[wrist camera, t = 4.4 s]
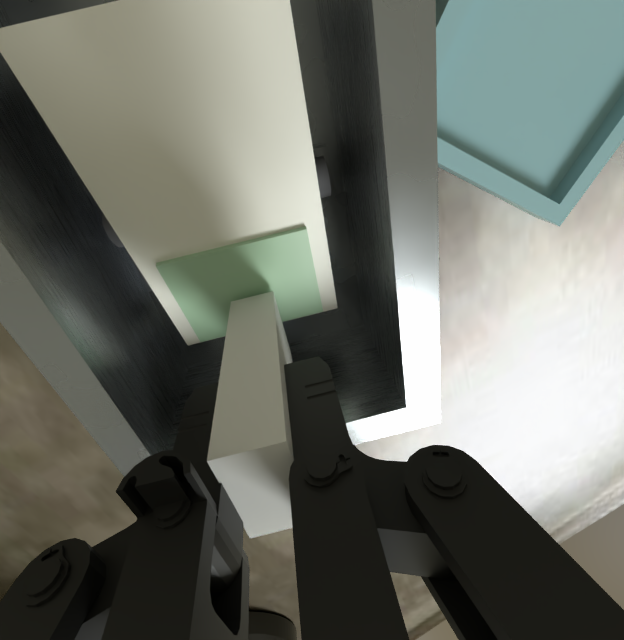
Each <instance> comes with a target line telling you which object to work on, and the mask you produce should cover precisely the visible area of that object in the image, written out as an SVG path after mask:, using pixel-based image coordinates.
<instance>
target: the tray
mask: <svg viewBox="0 0 624 640" xmlns="http://www.w3.org/2000/svg"><path fill="white" fill-rule="evenodd" d="M436 69H437V151H438V167H440V168H442V169H443V170H445V171H447V172H449V173H451V174H453V175H455V176H457V177H459V178H461V179H463V180H465V181H467V182H469V183H471V184H472V185H474V186H476V187H478V188H480V189H482V190H484V191H486V192H488V193H490V194H492V195H494V196H496V197H498V198H500V199H501V200H503V201H505V202H507V203H509V204H511V205H513V206H515V207H517V208H519V209H521V210H523V211H525V212H527V213H528V214H530V215H532V216H534V217H536V218H539V219H541V220H544V221H547V222H549V223H552V224H555V225H557V226H560V225H561V224H562V222H563V221H564V220H565V218H566V217H567V216H568V214H569V213H570V212H571V210H572V209H573V208H574V206H575V205H576V204H577V202H578V201H579V200H580V198H581V197H582V195H583V194H584V193H585V191H586V190H587V189H588V187H589V186H590V185H591V183H592V182H593V181H594V179H595V178H596V177H597V175H598V174H599V172H600V171H601V170H602V168H603V167H604V166H605V164H606V163H607V162H608V160H609V159H610V158H611V156H612V155H613V154H614V152H615V151H616V150H617V148H618V147H619V145H620V144H621V143H622V141H623V140H624V0H436Z"/></svg>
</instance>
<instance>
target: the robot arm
mask: <svg viewBox="0 0 624 640" xmlns="http://www.w3.org/2000/svg"><path fill="white" fill-rule="evenodd" d="M181 420H182V421H180V424H179V428H178V434H177V436H176V440H175V443H174V447H173V450H166V451H161V452H158V453H156V454H153V455H151V456H148V457H147V458H145V459H144V460H142V461H141V462H140V463H138V464H137V465H135V466H134V467H133V468H132V469H131V470H130V471H129V473H128V474H127V475H126V476H125V477H124V478H123V480H122V481H121V483H120V485H119V487H118V488H117V490H116V493H117V494H118V495H119V496H120V497H121V499H122V500H123V501H124V502H125V503H126V505H127V506H128V507H129V508H130V509H131V511H132V512H133V513H134V514H135V515H136V517H137V521H136V522H135V523H133V524H132V525H130V526H129V527H127V528H126V529H124V530H122V531H120V532H119V533H117V534H115V535H113V536H111V537H110V538H108V539H106V540H104V541H103V542H101V543H99V544H97V545H95V546H94V547H91V546H90V545H88V544H87V543H86V542H85V541H83V540H80V539H76V538H73V539H68V540H64V541H60V542H59V543H57V544H55V545H53V546H51V547H49V548H48V549H46V550H45V551H43V552H42V553H41V554H40V555H39V556H37V557H36V558H35V559H34V560H33V561H31V562H30V563H29V564H28V566H27V567H26V568H25V569H24V570H23V572H22V573H21V574H20V575H19V576H18V578H17V579H16V580H15V581H14V583H13V584H12V586H11V587H10V589H9V590H8V591H7V593H6V594H5V596H4V597H3V599H2V600H1V602H0V640H297V635H296V628H295V626H294V625H293V624H292V623H291V622H290V621H289V620H287V619H285V618H283V617H281V616H278V615H274V614H270V613H263V612H249V563H248V557H247V555H246V553H245V552H244V550H243V527H244V528H245V530H246V532H247V534H248V536H249V537H250V538H254V537H258V536H262V535H266V534H270V533H274V532H278V531H282V530H285V529H289V528H293V539H294V551H295V563H296V576H297V588H298V600H299V612H300V625H301V637H302V640H409V637H408V634H407V630H406V627H405V623H404V620H403V616H402V613H401V609H400V606H399V603H398V599H397V596H396V592H395V589H394V585H393V582H392V578H391V575H390V572H395V573H402V574H409V575H416V576H421V577H422V579H423V581H424V582H425V584H426V586H427V587H428V589H429V591H430V592H431V594H432V596H433V597H434V599H435V601H436V602H437V604H438V606H439V608H440V609H441V611H442V613H443V614H444V616H445V618H446V619H447V621H448V623H449V624H450V626H451V628H452V629H453V631H454V632H455V634H456V636H457V638H458V639H459V640H624V610H623V609H622V608H621V607H620V606H619V605H618V604H617V603H616V602H615V601H614V600H613V599H612V598H611V597H610V596H609V595H608V594H607V593H606V592H605V591H604V590H603V589H602V588H601V587H600V586H599V585H598V584H597V583H596V582H595V581H594V580H593V579H592V578H591V577H590V576H589V575H588V574H587V573H586V571H585V570H584V569H583V568H582V567H581V566H580V565H579V564H578V563H577V562H576V561H574V559H573V558H572V557H571V556H570V555H569V554H568V553H567V552H566V551H565V550H564V549H563V548H562V547H561V546H560V545H559V544H558V543H557V542H556V541H555V540H554V539H553V538H552V537H551V536H550V535H549V534H548V533H547V532H546V531H545V530H544V529H543V528H542V527H541V526H540V525H539V524H538V523H537V522H536V521H535V520H534V519H533V518H532V517H531V516H530V515H529V514H528V513H527V512H526V511H525V510H524V509H523V508H522V507H521V506H520V505H519V504H518V503H517V502H516V501H515V500H514V499H513V498H512V497H511V496H510V495H509V494H508V492H507V491H506V490H505V489H504V488H503V487H502V486H501V485H500V484H499V483H498V482H497V481H496V480H495V479H494V478H493V477H492V476H491V475H490V474H489V473H488V472H487V471H486V470H485V469H484V468H483V467H482V466H481V465H480V464H479V463H478V462H477V461H476V460H475V459H473V458H472V457H470V456H469V455H468V454H466V453H465V452H464V451H462V450H459V449H456V448H453V447H450V446H443V445H432V446H428V447H425V448H421V449H419V450H418V451H417V452H415V453H414V454H413V455H412V456H410V457H409V459H408V461H407V462H400V461H385V460H379V459H374V458H372V457H369V456H367V455H365V454H364V453H362V452H361V451H359V450H358V449H357V448H356V447H355V445H354V444H353V443H352V441H351V439H350V436H349V433H348V430H347V426H346V423H345V420H344V416H343V413H342V409H341V406H340V402H339V399H338V395H337V392H336V388H335V385H334V381H333V378H332V374H331V371H330V368H329V365H328V364H327V363H326V362H324V361H323V360H322V359H321V358H320V357H319V356H317V357H313V358H309V359H305V360H301V361H297V362H293V361H292V354H291V350H290V347H289V344H288V340H287V337H286V333H285V330H284V327H283V323H282V320H281V316H280V313H279V310H278V306H277V303H276V299H275V296H274V293H273V291H272V292H268V293H264V294H260V295H256V296H252V297H247V298H243V299H239V300H235V301H231V304H230V311H229V317H228V324H227V330H226V337H225V344H224V350H223V357H222V364H221V370H220V377H219V382H218V383H214V384H210V385H206V386H202V387H198V388H195V390H194V391H193V392H192V394H191V395H190V397H189V398H188V399H187V401H186V402H185V405H184V409H183V412H182V416H181Z"/></svg>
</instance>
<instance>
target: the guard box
mask: <svg viewBox="0 0 624 640" xmlns="http://www.w3.org/2000/svg"><path fill="white" fill-rule="evenodd" d="M113 1H118V0H0V28H2V27H7V26H11V25H15V24H20V23H24V22H28V21H32V20H37V19H41V18H45V17H49V16H54V15H58V14H62V13H66V12H71V11H75V10H79V9H83V8H88V7H92V6H96V5H101V4H105V3H109V2H113ZM290 5H291V12H292V18H293V24H294V31H295V37H296V44H297V50H298V57H299V63H300V69H301V76H302V82H303V89H304V95H305V101H306V108H307V114H308V121H309V127H310V134H311V140H312V146H313V153H314V158H315V157H319V156H323V157H324V159H325V161H326V165H327V168H328V173H329V178H330V185H331V196H328V197H324V198H321V204H322V211H323V217H324V223H325V230H326V236H327V243H328V249H329V256H330V262H331V268H332V275H333V281H334V288H335V294H336V300H337V307H338V308H336V309H332V310H328V311H324V312H320V313H316V314H312V315H308V316H304V317H300V318H296V319H292V320H288V321H284V322H282V323H283V327H284V330H285V333H286V337H287V340H288V344H289V347H290V350H291V354H292V361H293V362H297V361H301V360H305V359H309V358H313V357H317V356H319V357H320V358H321V359H322V360H323V361H324V362H326V363H327V364H328V365H329V368H330V371H331V374H332V378H333V381H334V385H335V388H336V392H337V395H338V399H339V402H340V406H341V409H342V413H343V416H344V420H345V423H346V426H347V430H348V433H349V436H350V439H351V441H352V443H353V444H354V445H356V444H360V443H364V442H368V441H372V440H375V439H379V438H383V437H387V436H391V435H395V434H399V433H403V432H407V431H411V430H414V429H418V428H422V427H426V426H430V425H434V424H438V423H441V398H440V316H439V233H438V151H437V69H436V0H290ZM0 322H1V324H2V325H3V326H4V327H5V329H6V330H7V331H8V332H9V334H10V335H11V336H12V337H13V339H14V340H15V341H16V342H17V344H18V345H19V346H20V347H21V349H22V350H23V351H24V352H25V354H26V355H27V356H28V357H29V359H30V360H31V361H32V362H33V364H34V365H35V366H36V367H37V368H38V370H39V371H40V372H41V373H42V375H43V376H44V377H45V378H46V380H47V381H48V382H49V383H50V385H51V386H52V387H53V388H54V390H55V391H56V392H57V393H58V395H59V396H60V397H61V398H62V400H63V401H64V402H65V403H66V405H67V406H68V407H69V408H70V410H71V411H72V412H73V413H74V415H75V416H76V417H77V418H78V420H79V421H80V422H81V423H82V425H83V426H84V427H85V428H86V430H87V431H88V432H89V433H90V435H91V436H92V437H93V438H94V440H95V441H96V442H97V443H98V445H99V446H100V447H101V448H102V450H103V451H104V452H105V453H106V455H107V456H108V457H109V458H110V459H111V461H112V462H113V463H114V464H115V466H116V467H117V468H118V469H119V471H120V472H121V473H122V474H123V476H124V477H125V476H126V475H127V474H128V473H129V471H130V470H131V469H132V468H133V467H134V466H135V465H137V464H138V463H140V462H141V461H142V460H144V459H145V458H147V457H148V456H151V455H153V454H156V453H158V452H161V451H166V450H173V447H174V443H175V440H176V436H177V434H178V428H179V424H180V421H182V420H181V416H182V412H183V409H184V405H185V402H186V401H187V399H188V398H189V397H190V395H191V394H192V392H193V391H194V390H195V388H198V387H202V386H206V385H210V384H214V383H218V382H219V377H220V370H221V364H222V357H223V350H224V344H225V337H226V336H224V337H220V338H216V339H212V340H208V341H204V342H200V343H196V344H192V345H187V343H186V342H185V340H184V339H183V337H182V336H181V334H180V333H179V331H178V329H177V328H176V326H175V325H174V323H173V322H172V320H171V318H170V317H169V315H168V314H167V312H166V311H165V309H164V308H163V306H162V304H161V303H160V301H159V300H158V298H157V297H156V295H155V293H154V292H153V290H152V289H151V287H150V286H149V284H148V282H147V281H146V279H145V278H144V276H143V275H142V273H141V272H140V270H139V268H138V267H137V265H136V264H135V262H134V261H133V259H132V257H131V256H130V254H129V253H128V251H127V250H126V248H125V247H118V246H116V245H115V244H114V243H113V242H112V241H111V240H110V238H109V237H108V235H107V233H106V231H105V229H104V226H103V223H102V211H101V209H100V207H99V206H98V204H97V203H96V201H95V200H94V198H93V196H92V195H91V193H90V192H89V190H88V189H87V187H86V186H85V184H84V182H83V181H82V179H81V178H80V176H79V175H78V173H77V171H76V170H75V168H74V167H73V165H72V164H71V162H70V160H69V159H68V157H67V156H66V154H65V153H64V151H63V150H62V148H61V146H60V145H59V143H58V142H57V140H56V139H55V137H54V135H53V134H52V132H51V131H50V129H49V128H48V126H47V125H46V123H45V121H44V120H43V118H42V117H41V115H40V114H39V112H38V110H37V109H36V107H35V106H34V104H33V103H32V101H31V99H30V98H29V96H28V95H27V93H26V92H25V90H24V89H23V87H22V85H21V84H20V82H19V81H18V79H17V78H16V76H15V74H14V73H13V71H12V70H11V68H10V67H9V65H8V64H7V62H6V60H5V59H4V57H3V56H2V54H1V53H0Z"/></svg>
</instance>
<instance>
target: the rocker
mask: <svg viewBox="0 0 624 640" xmlns="http://www.w3.org/2000/svg"><path fill="white" fill-rule="evenodd" d="M0 53H1V54H2V56H3V57H4V59H5V60H6V62H7V64H8V65H9V67H10V68H11V70H12V71H13V73H14V74H15V76H16V78H17V79H18V81H19V82H20V84H21V85H22V87H23V89H24V90H25V92H26V93H27V95H28V96H29V98H30V99H31V101H32V103H33V104H34V106H35V107H36V109H37V110H38V112H39V114H40V115H41V117H42V118H43V120H44V121H45V123H46V125H47V126H48V128H49V129H50V131H51V132H52V134H53V135H54V137H55V139H56V140H57V142H58V143H59V145H60V146H61V148H62V150H63V151H64V153H65V154H66V156H67V157H68V159H69V160H70V162H71V164H72V165H73V167H74V168H75V170H76V171H77V173H78V175H79V176H80V178H81V179H82V181H83V182H84V184H85V186H86V187H87V189H88V190H89V192H90V193H91V195H92V196H93V198H94V200H95V201H96V203H97V204H98V206H99V207H100V209H101V211H102V223H103V226H104V229H105V231H106V233H107V235H108V237H109V238H110V240H111V241H112V242H113V243H114V244H115V245H116V246H118V247H125V248H126V250H127V251H128V253H129V254H130V256H131V257H132V259H133V261H134V262H135V264H136V265H137V267H138V268H139V270H140V272H141V273H142V275H143V276H144V278H145V279H146V281H147V282H148V284H149V286H150V287H151V289H152V290H153V292H154V293H155V295H156V297H157V298H158V300H159V301H160V303H161V304H162V306H163V308H164V309H165V311H166V312H167V314H168V315H169V317H170V318H171V320H172V322H173V323H174V325H175V326H176V328H177V329H178V331H179V333H180V334H181V336H182V337H183V339H184V340H185V342H186V343H187V345H192V344H196V343H200V342H204V341H208V340H212V339H216V338H220V337H224V336H226V330H227V324H228V317H229V311H230V304H231V301H235V300H239V299H243V298H247V297H252V296H256V295H260V294H264V293H268V292H272V291H273V293H274V296H275V299H276V303H277V306H278V310H279V313H280V316H281V320H282V322H284V321H288V320H292V319H296V318H300V317H304V316H308V315H312V314H316V313H320V312H324V311H328V310H332V309H336V308H338V307H337V300H336V294H335V288H334V281H333V275H332V268H331V262H330V256H329V249H328V243H327V236H326V230H325V223H324V217H323V211H322V204H321V198H324V197H328V196H331V185H330V178H329V173H328V168H327V165H326V161H325V159H324V157H323V156H319V157H315V158H314V153H313V146H312V140H311V134H310V127H309V121H308V114H307V108H306V101H305V95H304V89H303V82H302V76H301V69H300V63H299V57H298V50H297V44H296V37H295V31H294V24H293V18H292V12H291V5H290V0H118V1H113V2H109V3H105V4H101V5H96V6H92V7H88V8H83V9H79V10H75V11H71V12H66V13H62V14H58V15H54V16H49V17H45V18H41V19H37V20H32V21H28V22H24V23H20V24H15V25H11V26H7V27H2V28H0Z"/></svg>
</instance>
